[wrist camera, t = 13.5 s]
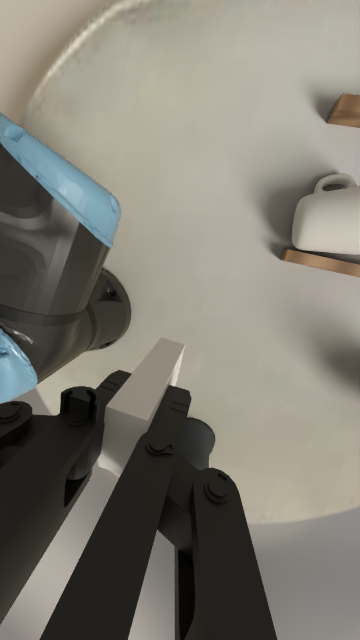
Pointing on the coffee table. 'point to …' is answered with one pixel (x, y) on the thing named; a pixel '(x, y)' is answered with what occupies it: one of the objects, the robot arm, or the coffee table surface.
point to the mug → (197, 443)
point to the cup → (329, 218)
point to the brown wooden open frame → (343, 113)
